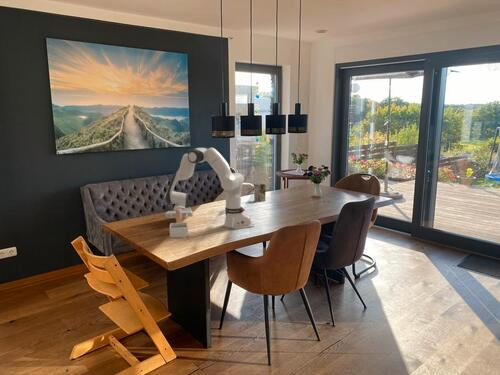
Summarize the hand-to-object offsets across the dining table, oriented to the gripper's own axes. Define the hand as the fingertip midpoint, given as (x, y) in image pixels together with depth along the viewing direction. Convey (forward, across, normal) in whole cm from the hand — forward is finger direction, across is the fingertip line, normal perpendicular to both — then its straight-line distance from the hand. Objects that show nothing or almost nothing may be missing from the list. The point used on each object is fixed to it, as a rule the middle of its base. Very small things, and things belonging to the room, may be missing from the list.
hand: (179, 216), depth 281 cm
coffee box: (-73, +75, +9) cm, 105 cm away
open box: (+17, 0, +8) cm, 19 cm away
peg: (+3, 0, +8) cm, 9 cm away
